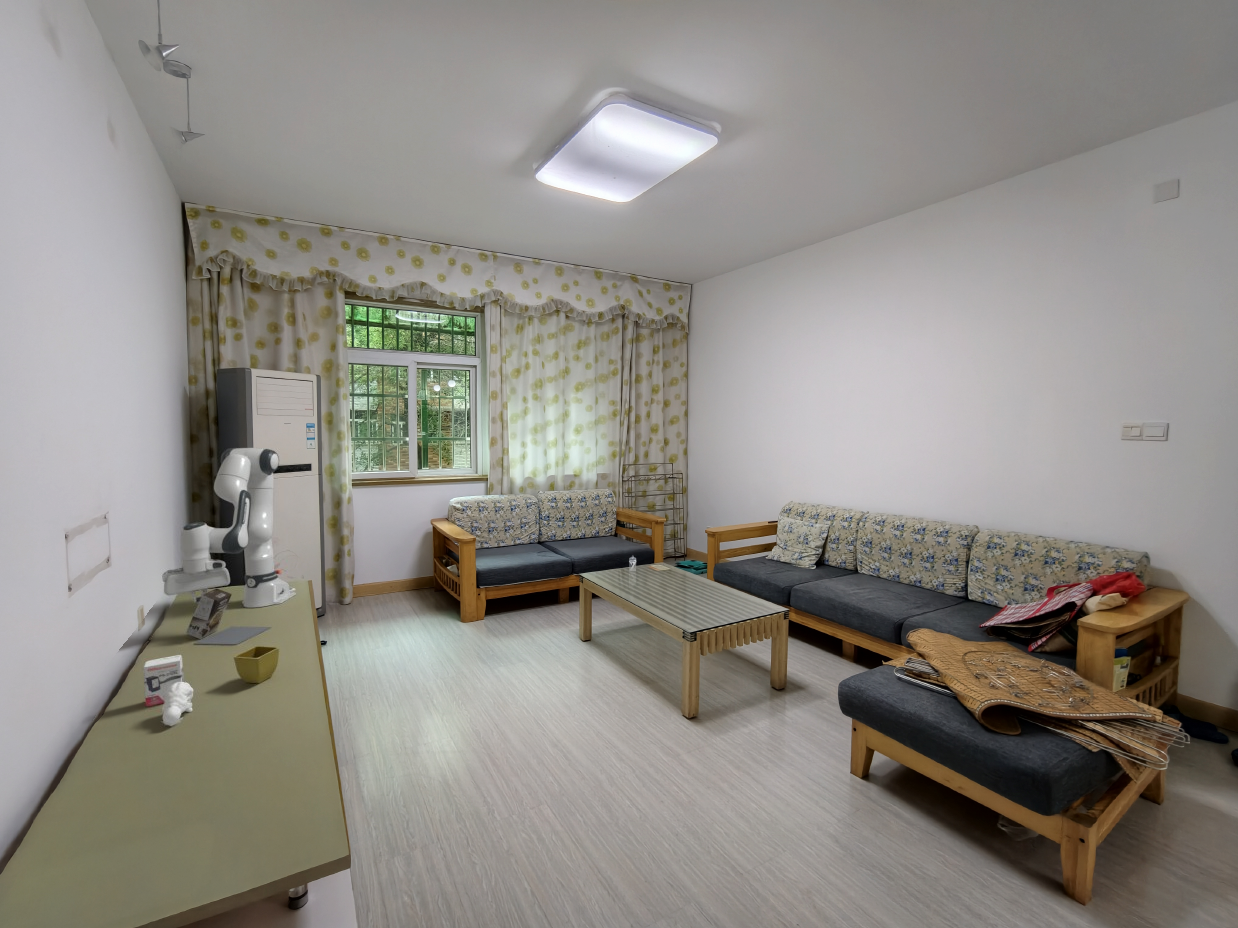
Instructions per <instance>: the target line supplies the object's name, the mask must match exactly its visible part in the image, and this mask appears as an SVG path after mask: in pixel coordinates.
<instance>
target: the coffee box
mask: <svg viewBox="0 0 1238 928" xmlns="http://www.w3.org/2000/svg"><path fill="white" fill-rule="evenodd" d="M232 595H233V593H230V592H227V591H225V590H222V589H219V588H215V589H213V590H210V591H207V593H205V594H203V595H202V597H201V599H200V601H199V602H197V603H198V604H197V606H196V609H195V611H194V612H193V615H192V618H191V620H190V622H189V624H188V627H187V629H186V631H185V634H187V635H189V636H191V637H194V638H197V639H200V640H202V639H205V638H207V637H209V636H211V635H213V633H215V632H218V631H217V630H218V628H219V625H220V624H221V622H222V619H223V616H224V614H225V612H226V609H227V607H228V605H229V601H230V599H231V598H232Z"/></svg>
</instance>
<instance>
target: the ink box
mask: <svg viewBox="0 0 1238 928" xmlns="http://www.w3.org/2000/svg"><path fill="white" fill-rule="evenodd" d="M183 665H184V664H183V656H182V655H181V654H177V655H172V656H168V657H167V656H166V657H162V658H157V659H156V658H155V659H150V660H147V661H146V662H144V665H143V667H142V668H143V682H144V683H143V684H144V696H145V697H144V699H145V707H153V706H157V705H160V704H164V703H165V700H166V698H165V697H164V694H165V692H166V691H167V689H168V688H169V687H170V686H171V685H173V684H174V683H177V682H184V667H183Z"/></svg>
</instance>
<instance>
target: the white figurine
mask: <svg viewBox="0 0 1238 928" xmlns="http://www.w3.org/2000/svg"><path fill="white" fill-rule="evenodd" d="M164 697H165V698H166V700H165V703H163V705H162V707H161V710H162V711H161V713H162V714H163V715H162V720H163V721H161V720H160V722H161V723H163V724H164V726H169V727H174V725H176V724H179V723H180V722H181V720H183V719H184V716H183V717H181V716H182V713H184V712H186V713H191V712H193V708H192V707H193V703H192V702H191V701H192V699H193V697H194V688H193V687H191V685H190V683H188V682H186V681H185V682H177V683H174V684H173V685H171V686H170V687H169V688H168V689H167V691H166V692H165V694H164Z"/></svg>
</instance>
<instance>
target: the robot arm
mask: <svg viewBox="0 0 1238 928" xmlns="http://www.w3.org/2000/svg"><path fill="white" fill-rule="evenodd" d="M220 464H221V465H220V467H219V468H218V469H219V470H218V472H217V474H216V476H215V477H216V478H215V480H214V483H213V484H214V485H213V490H214V492H215V494H216V495H217V496H218V497H219V498H221V499H222V500H224V501H227V502H229V503H231V504H233V506H234V511H233V519H232V520H233V521H232V525H231V526H230V527H228V528H227V527H225V528H219V527H212V526H209V525H207V523H206V522H202V521H201V522H200V521H199V522H193V523H192V522H191V523H189V524H186V525H184V526H183V527H182V529H181V533H180V549H181V552H182V557H181V567H180V568H179V567H178V568H173V569H168V570H166V571H164V572H163V574H162V581H163V584H164V585H163V593H164V595H167V596H174V595H178V594H185V593H189V595H190V596H191V597H192V598H193V603H199V601H200V599H201V597H202V595H203V594H205V593H208V590H209V589H213V588H220V587H223V586H224V587H225V586H228V585H229V584H230V583H231V577H230V573H229V570H228V569H227V568H226V565H227V564H226V562H225V561H223V560H220V559H213V558H212V557H211V554H212V553H213V554H215V553H216V554H217V553H218V554H223V553H226V554H232V555H233V554H235V555H237V554H240V553H242V552H243V553H244V554H243V555H244V566H245V567H244V568H245V574H244V583H245V585H244V590H243V600H241V601H242V602H241V603H242V605H243V607H244V608H249V609H250V608H261V607H267V606H268V607H269V606H273V605H279V604H280V605H281V604H282V603H285V602H286V601H287V600H290V598H293V597H294V596H296V594H297V593H296V592H295V591H291V589H290V585H289V583H288V582H286V581H285V580H283V579H282V578H279V576H278V575H281V574H282V573H283V572H282V571H283V570H282V569H276V570H275V554H274V547H273V536H274V535H273V534H274V491H275V490H274V489H275V477H274V473H275V471H276V470H277V469H278V467H279V464H280V457H279V454H278V453H277V452H276V451H275V450H273V449H269V448H258V447H240V448H239V447H238V448H237V447H233V448H232V447H231V448H227V449H226V450H224V452H223V453H222V454H221V456H220ZM210 553H211V554H210ZM196 591H201V595H199V596H195V594H196Z"/></svg>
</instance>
